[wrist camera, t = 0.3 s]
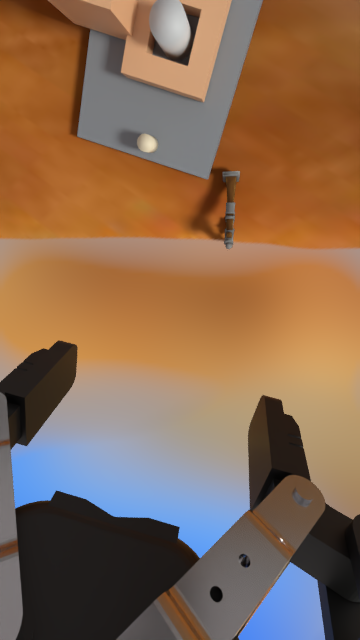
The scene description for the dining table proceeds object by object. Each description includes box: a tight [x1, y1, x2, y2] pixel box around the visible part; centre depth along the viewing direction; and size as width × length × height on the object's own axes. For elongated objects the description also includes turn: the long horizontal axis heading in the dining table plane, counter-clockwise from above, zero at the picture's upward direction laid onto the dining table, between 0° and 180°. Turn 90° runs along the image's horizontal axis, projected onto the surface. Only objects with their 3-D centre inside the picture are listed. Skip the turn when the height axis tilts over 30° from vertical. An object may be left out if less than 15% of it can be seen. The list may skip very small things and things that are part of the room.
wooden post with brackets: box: [223, 171, 240, 249], centre depth 36 cm, size 2×8×4 cm, turn 2°
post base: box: [77, 0, 263, 179], centre depth 30 cm, size 17×15×6 cm
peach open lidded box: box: [48, 0, 232, 103], centre depth 27 cm, size 14×8×8 cm, turn 74°
